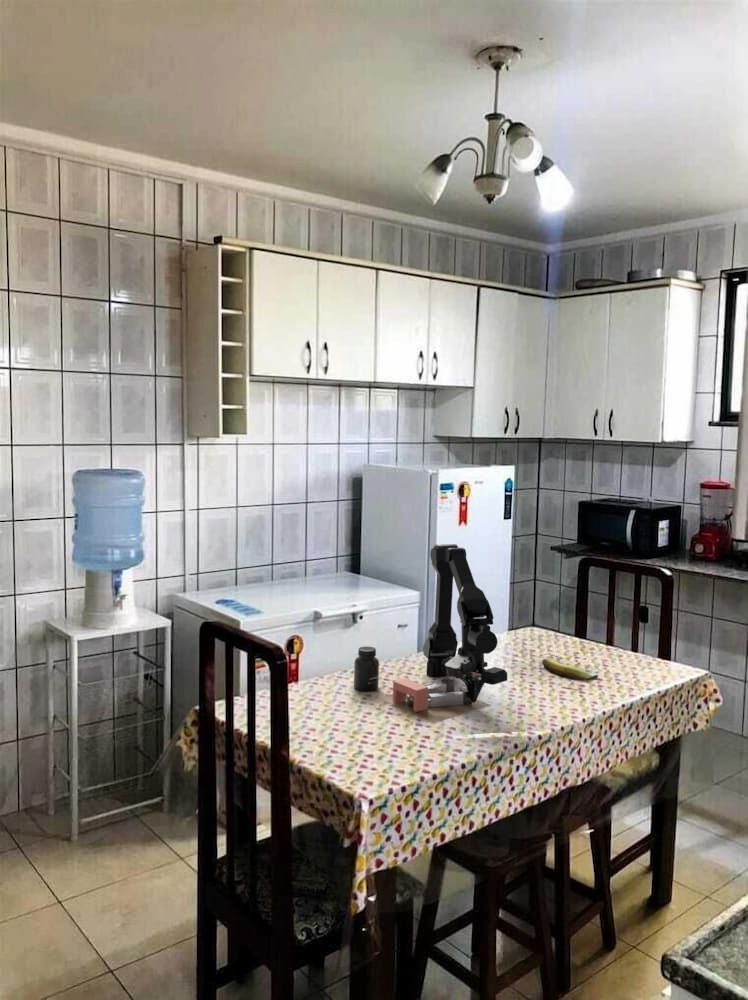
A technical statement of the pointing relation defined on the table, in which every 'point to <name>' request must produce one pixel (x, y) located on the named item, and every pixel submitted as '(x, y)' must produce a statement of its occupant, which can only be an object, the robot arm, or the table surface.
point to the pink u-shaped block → (411, 693)
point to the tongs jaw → (449, 698)
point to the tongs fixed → (436, 689)
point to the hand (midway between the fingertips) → (473, 702)
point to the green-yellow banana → (566, 670)
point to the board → (436, 709)
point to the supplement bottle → (366, 670)
